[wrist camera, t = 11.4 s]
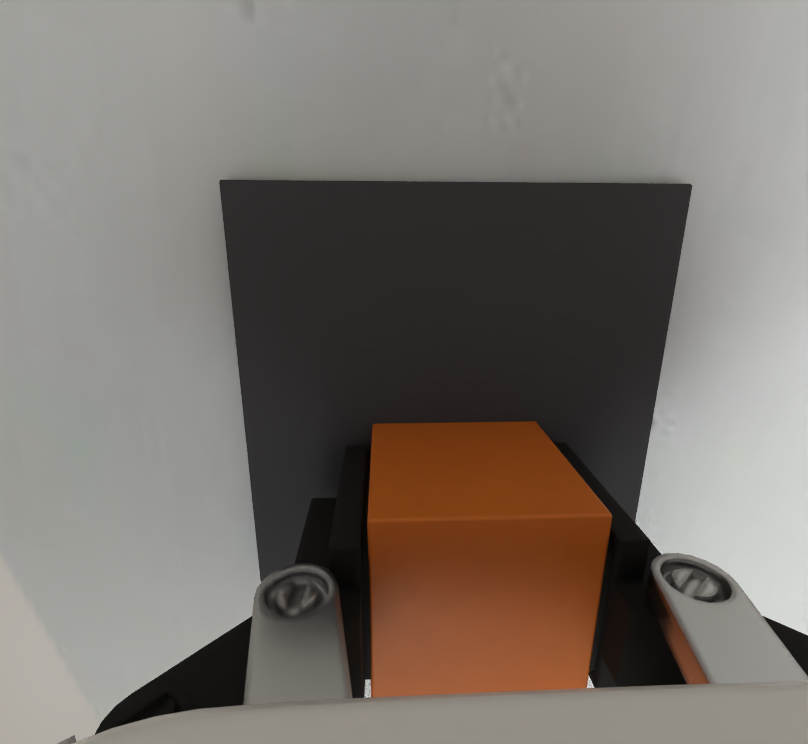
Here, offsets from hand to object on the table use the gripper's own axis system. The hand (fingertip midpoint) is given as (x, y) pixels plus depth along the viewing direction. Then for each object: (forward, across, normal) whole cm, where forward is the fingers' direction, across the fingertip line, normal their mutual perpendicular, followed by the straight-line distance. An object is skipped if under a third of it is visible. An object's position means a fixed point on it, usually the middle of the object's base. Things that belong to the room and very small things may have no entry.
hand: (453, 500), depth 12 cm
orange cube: (0, 0, 0) cm, 0 cm away
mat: (+1, 0, -2) cm, 2 cm away
